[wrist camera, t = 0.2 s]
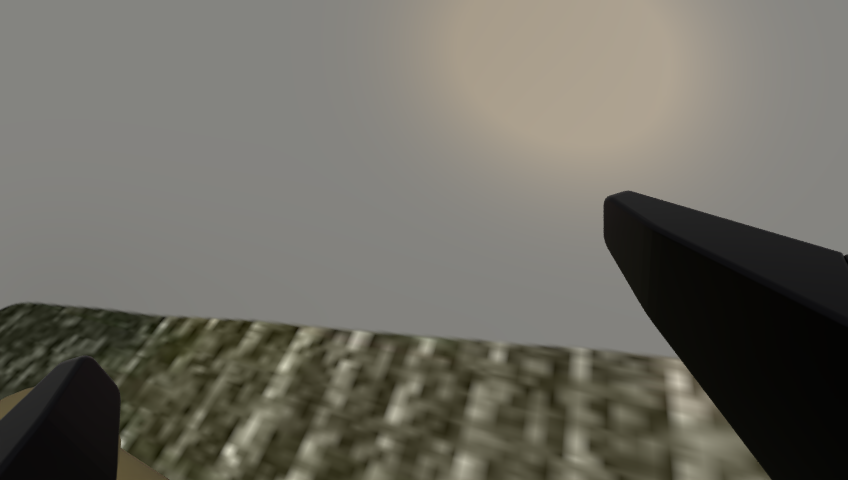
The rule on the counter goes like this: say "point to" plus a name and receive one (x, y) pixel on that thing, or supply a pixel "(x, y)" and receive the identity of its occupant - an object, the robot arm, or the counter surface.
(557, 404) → the counter surface
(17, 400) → the cork
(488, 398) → the counter surface
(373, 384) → the counter surface
